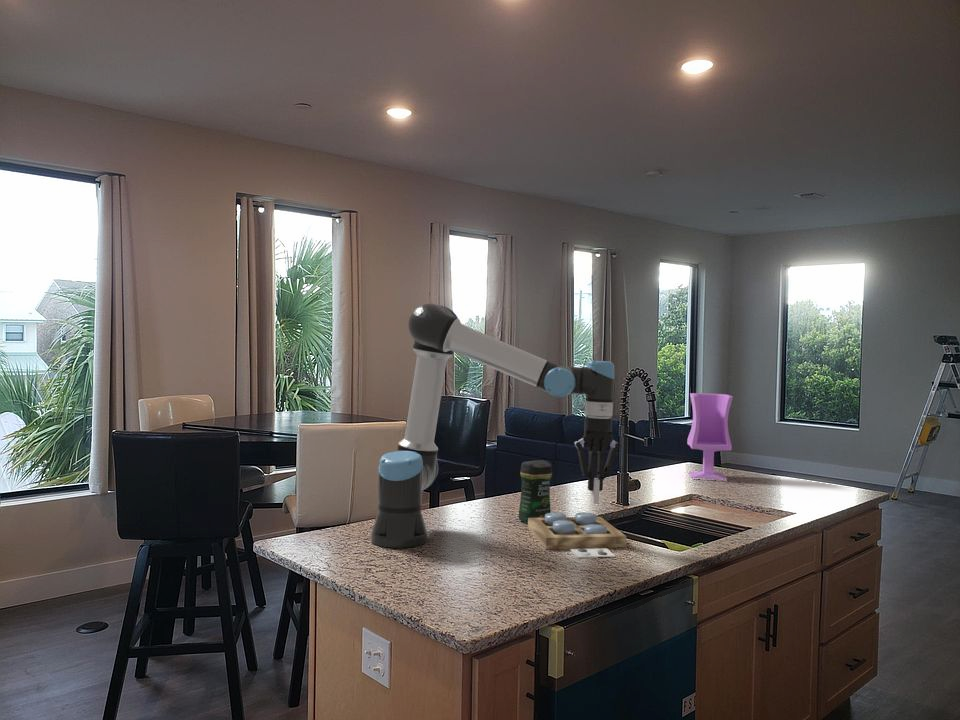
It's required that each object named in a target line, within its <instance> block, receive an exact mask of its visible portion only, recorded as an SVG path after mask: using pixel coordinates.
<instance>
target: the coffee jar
mask: <svg viewBox="0 0 960 720" xmlns="http://www.w3.org/2000/svg"><path fill="white" fill-rule="evenodd" d="M552 476H553V466H552V463H551V461H548V460H542V459H539V460H538V459H537V460H528V461H523V462H522V463H521V465H520V478H521V490H520V491H521V492H520V499H519V501H520V502H519V508H518V520H520V521H521V522H522V523H524V524H528V518H545V514H547V513H552V512H551V495H550V494H551V491H550V490H551V489H550V486H551V485H550V484H551V478H552Z"/></svg>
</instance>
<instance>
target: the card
mask: <svg viewBox="0 0 960 720" xmlns="http://www.w3.org/2000/svg"><path fill="white" fill-rule="evenodd" d="M569 551H570V552H571V553H572V554H573V555H574V556H575V558H577V559H599V558H598V557H610V558H616V554H614V553H613V552H611V550H610V549H609V548H581V549H569Z"/></svg>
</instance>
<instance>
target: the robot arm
mask: <svg viewBox="0 0 960 720" xmlns="http://www.w3.org/2000/svg"><path fill="white" fill-rule="evenodd" d="M409 315H410V316H409V317H408V323H407V324H408V325H407V327H408V332H409V335H410V336H411V337H412V339H413V346H412V350H413V351H414V353H415V354H416V362H415V367H414V373H413V381H412V387H411V393H410V394H411V395H410V400H409V407H408V413H407V414H408V415H407V419H406V420H407V421H406V426H405V433H404V437H403V438H402V439H401V440H400V441H398V443H397V451H396V450H395V451H392V452H390V451H389V452H386V453H384V454H383V455H382V456H381V457H380V459H379V464H378V500H377V501H378V502H377V504H378V507H377V508H378V509H377V514H376V518H375V519H374V520H375V521H374V524H373V527H372V529H371V532H370V533H371V534H370V542H371V543H372V544H374V545H376V546H380V547H384V548H390V549H391V548H392V549H393V548H395V549H399V548H400V549H402V548H403V549H404V548H414V547H419V546H422V545H423V544H425V543H427V541H428V529H427V527H426V524H425V523H426V522H425V520H424V517H423V512H422V504H423V503H422V501H423V500H422V499H423V491H424V490H427V489H428V488H429V487H430V486H432V484H434V482H435V480H436V478H437V476H438V473H439V463H438V459H437V458H438V452H439V447H438V446H437V445H436V443H435V437H436V432H437V424H438V418H439V412H440V405H441V399H442V394H443V393H442V392H443V385H444V379H445V374H446V373H445V372H446V368H447V361H448V360H449V359H451V358H452V357H453V355H454V353H456V354H458V355H461V356H463V357H465V358H467V359H470V360H473V361H474V362H477V363H479V364H480V365H481V364H482V365H484V366H487V367H489V368H492V369H494V370H496V371H498V372H500V373H502V374H505V375H508V376H510V377H512V378H515V379H517V380H520V381H521V382H523V383H526V384H529V385H530V386H533V387H535V388H538V389H540V390H542V391H543V392H544V393H548V394H549V395H550V396H553V397H555V398H564V397H565V398H566V397H567V396H569V395H570V394H571V395H585V404H584V407H585V408H584V414H585V418H584V427H583V428H584V429H583V434H582V436H581V438H580V439H578V441H577V440H575V441H574V442H573V444H574V446H575V448H576V451H577V455H578V461H579V466H580V472H581V475H582V476H583V477H585V478H587V490H588V491H590V503H592V504H593V505H594V504H596V505H597V504H599V502H600V492H601V491H603V488H604V487H603V486H604V480H605V479H606V478H609V477H610V476H611V474H612V469H613V467H614V464H615V460H616V456H617V452H618V451H619V449H620V448H621V447H622V445H621V443H620V442H617V441H616V440H614V436H613V433H612V431H613V419H612V418H611V417H613V410H614V408H613V407H614V396H615V395H614V393H615V392H614V391H615V364H614V363H613V362H612V361H608V360H607V361H605V360H588V361H587V362H586V364H587V365H586V366H581V367H577V366H566V365H565V366H564V365H558V364H556V363H554V362H551V361H549V360H546V359H544V358H542V357H539V356H537V355H535V354H533V353H530V352H528V351H526V350H523V349H520V348H519V347H516V346H514V345H512V344H508V343H506V342H504V341H501V340H499V339H497V338H495V337H493V336H491V335H488V334H487V333H486V334H485V333H483V332H481V331H478V330H477V329H476V330H475V329H474V328H471V327H468V326H466V325H464V324H462V323H461V320H460V318H459V317H458V316H457V314H456V313H455V312H454V311H453V310H452V309H450V308H449V307H447V306H443V305H438V304H435V303H424V304H421V305H418V307H416V308H414V309H413V311H412V312H411V313H410V314H409ZM585 446H586V447H587V449H588V451H587V452H588V463H587V458H586V455H585V449H584V447H585ZM609 446H610V449H609V451H608V455H607V459H606V458H605V456H606V450H607V449H608V447H609ZM605 459H606V462H605ZM596 460H597V466H596ZM595 476H596V477H595Z"/></svg>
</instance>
